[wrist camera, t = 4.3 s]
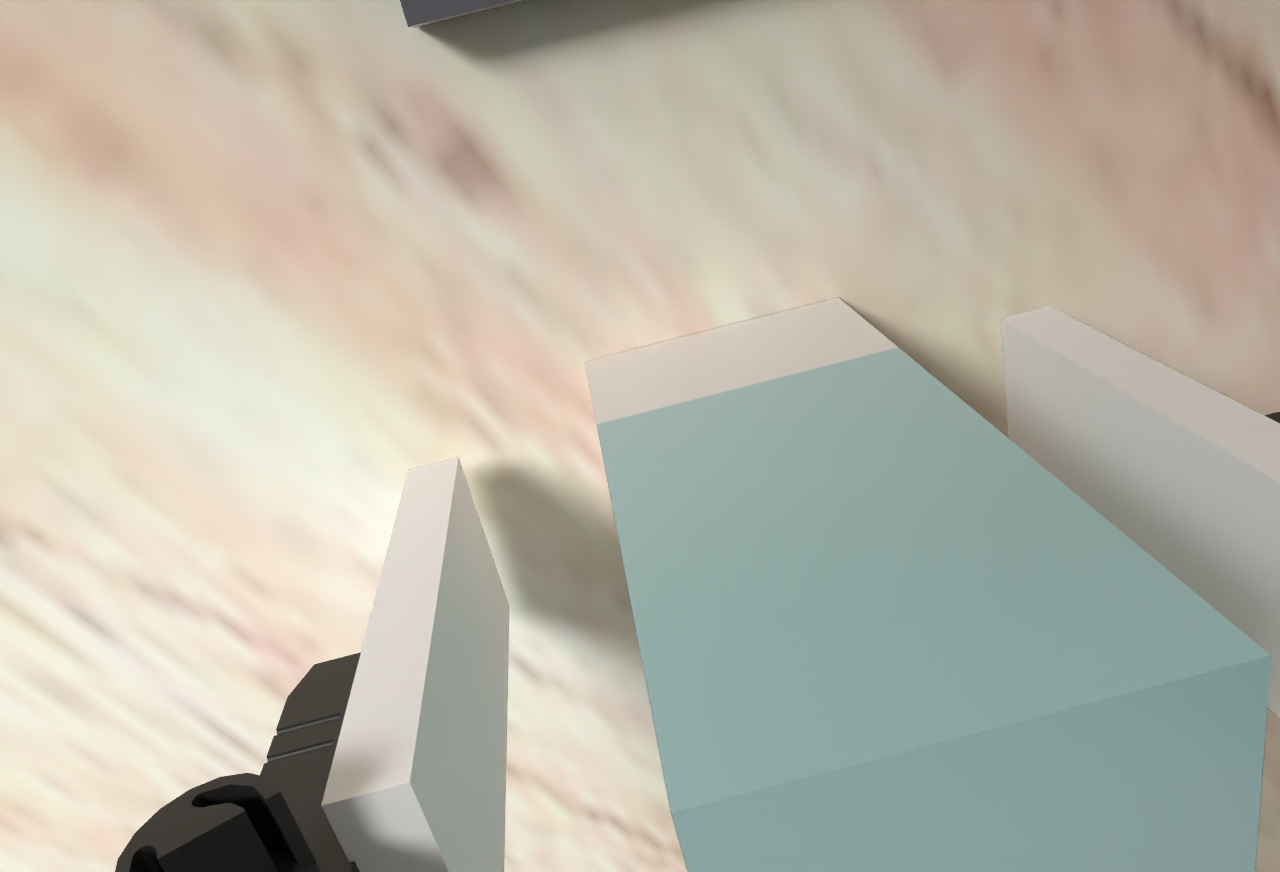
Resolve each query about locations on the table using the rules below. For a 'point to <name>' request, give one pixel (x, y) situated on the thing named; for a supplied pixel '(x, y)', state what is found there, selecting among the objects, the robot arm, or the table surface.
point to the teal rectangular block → (906, 626)
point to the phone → (445, 9)
